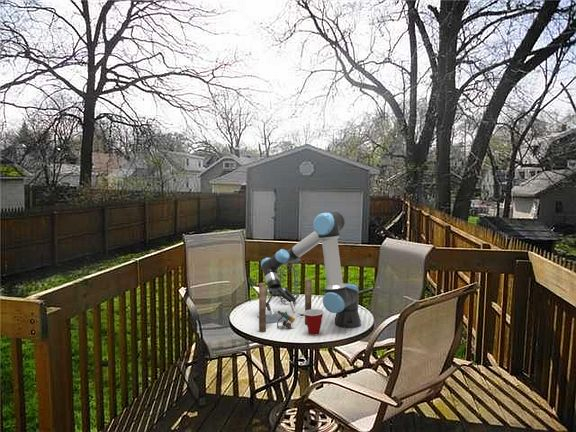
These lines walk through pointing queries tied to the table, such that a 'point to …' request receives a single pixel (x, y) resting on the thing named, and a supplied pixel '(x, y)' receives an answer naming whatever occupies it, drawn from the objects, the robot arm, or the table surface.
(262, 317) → the post gap
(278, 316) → the grey mat
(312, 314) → the plastic cup
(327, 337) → the table surface
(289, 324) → the binoculars
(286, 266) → the geometric lantern
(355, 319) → the robot arm
